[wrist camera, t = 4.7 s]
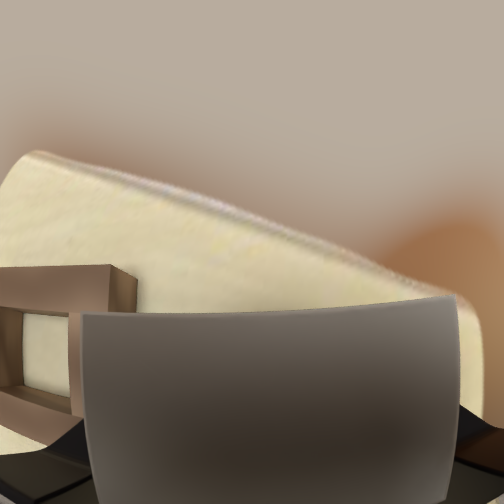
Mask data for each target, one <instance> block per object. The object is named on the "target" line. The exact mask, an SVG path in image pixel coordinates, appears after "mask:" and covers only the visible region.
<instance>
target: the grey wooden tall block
mask: <svg viewBox="0 0 504 504" xmlns="http://www.w3.org/2000/svg"><path fill="white" fill-rule="evenodd" d="M80 378H81V395H82V407H83V417H84V426H85V433H86V441H87V447H88V453H89V459H90V464H91V470H92V475H93V479H94V484H95V488H96V492H97V496H98V500H99V504H437V503H439V502H441V501H444V500H446V495H447V491H448V487H449V482H450V477H451V472H452V466H453V460H454V454H455V447H456V439H457V430H458V419H459V404H460V341H459V326H458V314H457V304H456V296H455V294H452V295H445V296H438V297H431V298H423V299H415V300H407V301H398V302H389V303H380V304H370V305H359V306H347V307H335V308H322V309H307V310H290V311H269V312H243V313H123V312H97V311H80Z"/></svg>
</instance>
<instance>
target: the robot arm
mask: <svg viewBox="0 0 504 504" xmlns="http://www.w3.org/2000/svg"><path fill="white" fill-rule="evenodd" d="M0 504H99V500H98V496H97V492H96V488H95V484H94V479H93V475H92V470H91V464H90V459H89V453H88V447H87V441H86V433H85V426H84V418H83V419H82V420H81V421H79V422H78V423H77V424H76V425H75V426H73V427H72V428H71V429H70V430H69V431H67V432H66V433H65V434H64V435H62V436H61V437H60V438H59V439H57V440H56V441H55V442H54V443H52V444H51V445H49V446H48V447H46V448H44V449H41V450H38V451H33V452H26V453H17V454H7V455H0ZM437 504H504V429H502V428H497V427H494V426H492V425H490V424H488V423H486V422H485V421H483V420H482V419H480V418H479V417H478V416H476V415H475V414H473V413H472V412H470V411H469V410H467V409H466V408H464V407H463V406H461V405H460V404H459V419H458V430H457V439H456V447H455V454H454V460H453V466H452V472H451V477H450V482H449V487H448V491H447V495H446V500H444V501H441V502H439V503H437Z"/></svg>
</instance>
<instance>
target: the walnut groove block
mask: <svg viewBox="0 0 504 504" xmlns="http://www.w3.org/2000/svg"><path fill="white" fill-rule="evenodd" d="M136 300H137V279H136V278H134V277H133V276H131V275H129V274H127V273H125V272H123V271H122V270H120V269H118V268H116V267H115V266H113V265H111V264H105V265H73V266H38V267H0V425H2V426H4V427H6V428H8V429H10V430H12V431H14V432H16V433H19V434H21V435H23V436H25V437H28V438H30V439H32V440H35V441H37V442H39V443H42V444H44V445H47V446H49V445H51V444H52V443H54V442H55V441H56V440H57V439H59V438H60V437H61V436H62V435H64V434H65V433H66V432H67V431H69V430H70V429H71V428H72V427H73V426H75V425H76V424H77V423H78V422H79V421H81V420H82V419H83V418H84V417H83V407H82V395H81V378H80V311H97V312H123V313H136ZM23 313H31V314H41V315H51V316H63V317H69V322H68V365H69V385H70V398H67V397H63V396H59V395H55V394H51V393H47V392H44V391H40V390H37V389H34V388H30V387H27V386H24V383H23V365H22V321H23Z"/></svg>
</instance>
